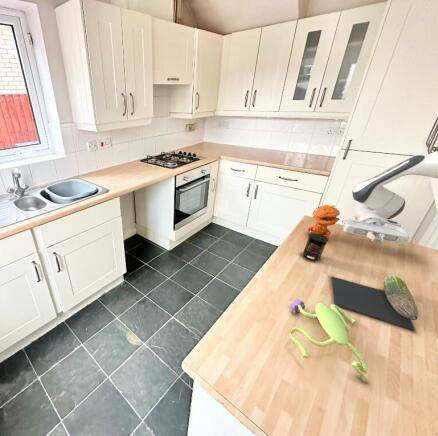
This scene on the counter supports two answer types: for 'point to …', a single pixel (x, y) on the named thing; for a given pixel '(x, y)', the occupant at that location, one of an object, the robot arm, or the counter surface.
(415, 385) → the counter surface
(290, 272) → the counter surface
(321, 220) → the toy dinosaur
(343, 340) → the figurine
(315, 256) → the supplement container
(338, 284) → the mat
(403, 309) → the vegetable
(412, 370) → the counter surface
